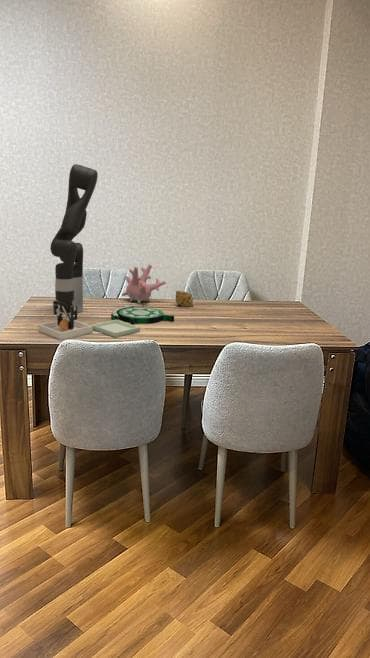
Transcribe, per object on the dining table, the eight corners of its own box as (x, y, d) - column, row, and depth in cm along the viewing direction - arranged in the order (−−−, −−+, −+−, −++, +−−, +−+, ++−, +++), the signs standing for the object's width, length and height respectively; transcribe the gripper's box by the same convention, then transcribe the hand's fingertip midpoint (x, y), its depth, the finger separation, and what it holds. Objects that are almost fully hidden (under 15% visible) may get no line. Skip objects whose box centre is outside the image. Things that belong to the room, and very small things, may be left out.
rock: (179, 312, 269) (176, 294, 271) (194, 309, 268) (192, 292, 270) (176, 307, 257) (174, 289, 259) (192, 305, 256) (190, 286, 258)
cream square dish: (38, 331, 206) (38, 324, 205) (70, 324, 217) (70, 318, 216) (60, 340, 195) (60, 333, 195) (92, 333, 207) (92, 326, 206)
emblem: (121, 304, 247) (179, 310, 242) (121, 310, 248) (179, 316, 243) (104, 316, 223) (167, 322, 218) (103, 323, 224) (167, 329, 219)
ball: (57, 330, 206) (56, 319, 204) (67, 328, 209) (66, 317, 208) (64, 333, 203) (63, 321, 201) (74, 331, 206) (73, 319, 205)
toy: (136, 296, 280) (136, 261, 275) (165, 302, 269) (167, 266, 263) (114, 301, 265) (114, 264, 260) (144, 307, 254) (145, 269, 248)
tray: (91, 329, 212) (91, 324, 212) (116, 323, 222) (116, 319, 222) (115, 337, 202) (115, 333, 202) (140, 331, 212) (140, 327, 212)
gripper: (82, 290, 199) (83, 329, 204) (62, 285, 208) (63, 322, 213) (67, 293, 194) (68, 332, 198) (46, 287, 203) (48, 325, 207)
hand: (65, 327), depth 206 cm, fingers open, 7 cm apart
